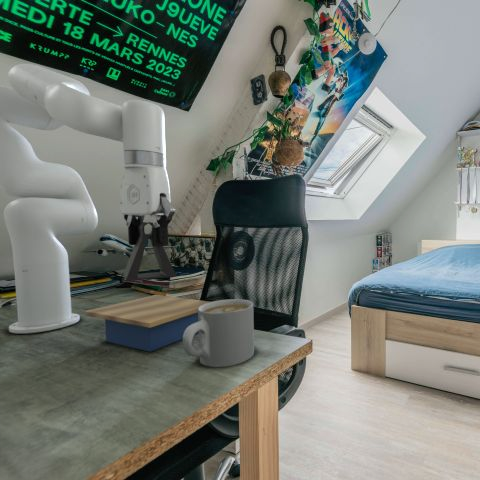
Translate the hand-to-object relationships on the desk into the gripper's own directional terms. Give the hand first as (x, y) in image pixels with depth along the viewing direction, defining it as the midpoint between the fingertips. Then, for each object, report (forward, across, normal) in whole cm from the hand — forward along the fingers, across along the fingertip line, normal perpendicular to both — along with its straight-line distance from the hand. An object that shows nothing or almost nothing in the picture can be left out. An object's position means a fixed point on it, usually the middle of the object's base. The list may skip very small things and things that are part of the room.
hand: (148, 244), depth 70 cm
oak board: (+15, -1, +1) cm, 15 cm away
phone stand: (+7, 0, 0) cm, 7 cm away
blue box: (+21, -1, +1) cm, 21 cm away
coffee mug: (+21, +22, -2) cm, 30 cm away
